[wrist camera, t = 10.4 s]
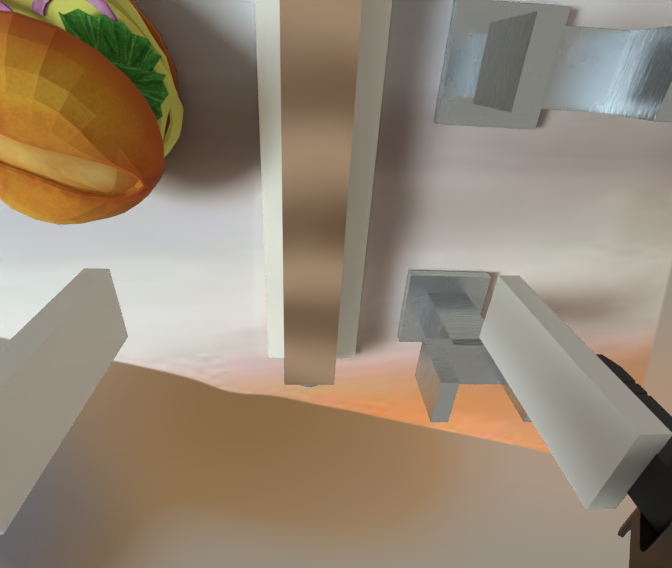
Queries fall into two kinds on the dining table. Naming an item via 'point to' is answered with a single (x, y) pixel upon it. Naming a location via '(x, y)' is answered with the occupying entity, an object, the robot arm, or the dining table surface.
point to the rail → (315, 176)
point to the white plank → (361, 165)
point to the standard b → (548, 67)
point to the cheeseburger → (83, 108)
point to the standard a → (449, 337)
